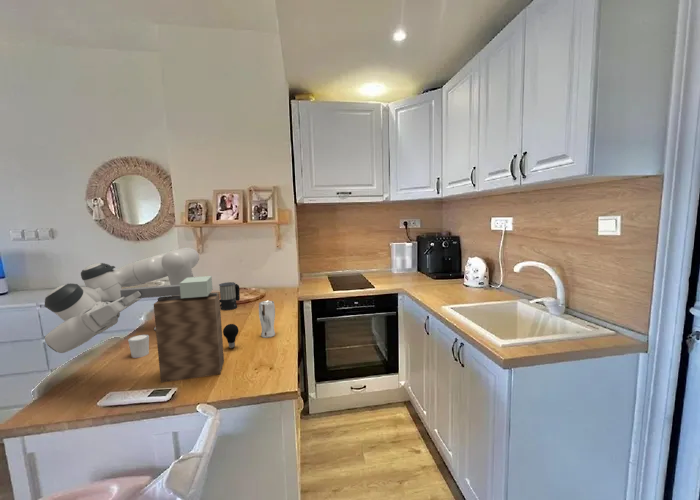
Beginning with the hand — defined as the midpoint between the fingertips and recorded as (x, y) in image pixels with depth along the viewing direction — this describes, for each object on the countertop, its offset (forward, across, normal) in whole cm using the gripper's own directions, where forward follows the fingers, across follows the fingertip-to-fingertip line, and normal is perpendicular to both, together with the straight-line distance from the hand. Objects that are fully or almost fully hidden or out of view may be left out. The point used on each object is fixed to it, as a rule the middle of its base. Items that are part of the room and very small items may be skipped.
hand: (142, 291), depth 103 cm
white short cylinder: (-24, -22, -20) cm, 38 cm away
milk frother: (-3, -83, -33) cm, 90 cm away
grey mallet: (+5, 0, -6) cm, 8 cm away
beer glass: (+18, -27, -45) cm, 55 cm away
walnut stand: (-3, 0, -32) cm, 32 cm away
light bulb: (+6, -17, -38) cm, 42 cm away
